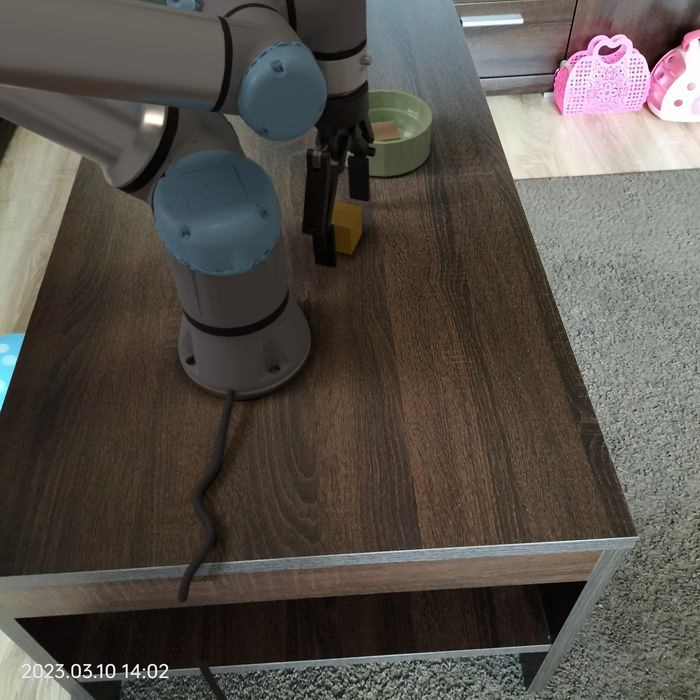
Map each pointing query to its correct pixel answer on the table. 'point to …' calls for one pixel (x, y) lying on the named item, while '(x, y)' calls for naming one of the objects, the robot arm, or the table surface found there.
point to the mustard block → (346, 226)
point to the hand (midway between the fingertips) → (343, 230)
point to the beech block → (385, 131)
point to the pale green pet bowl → (411, 126)
